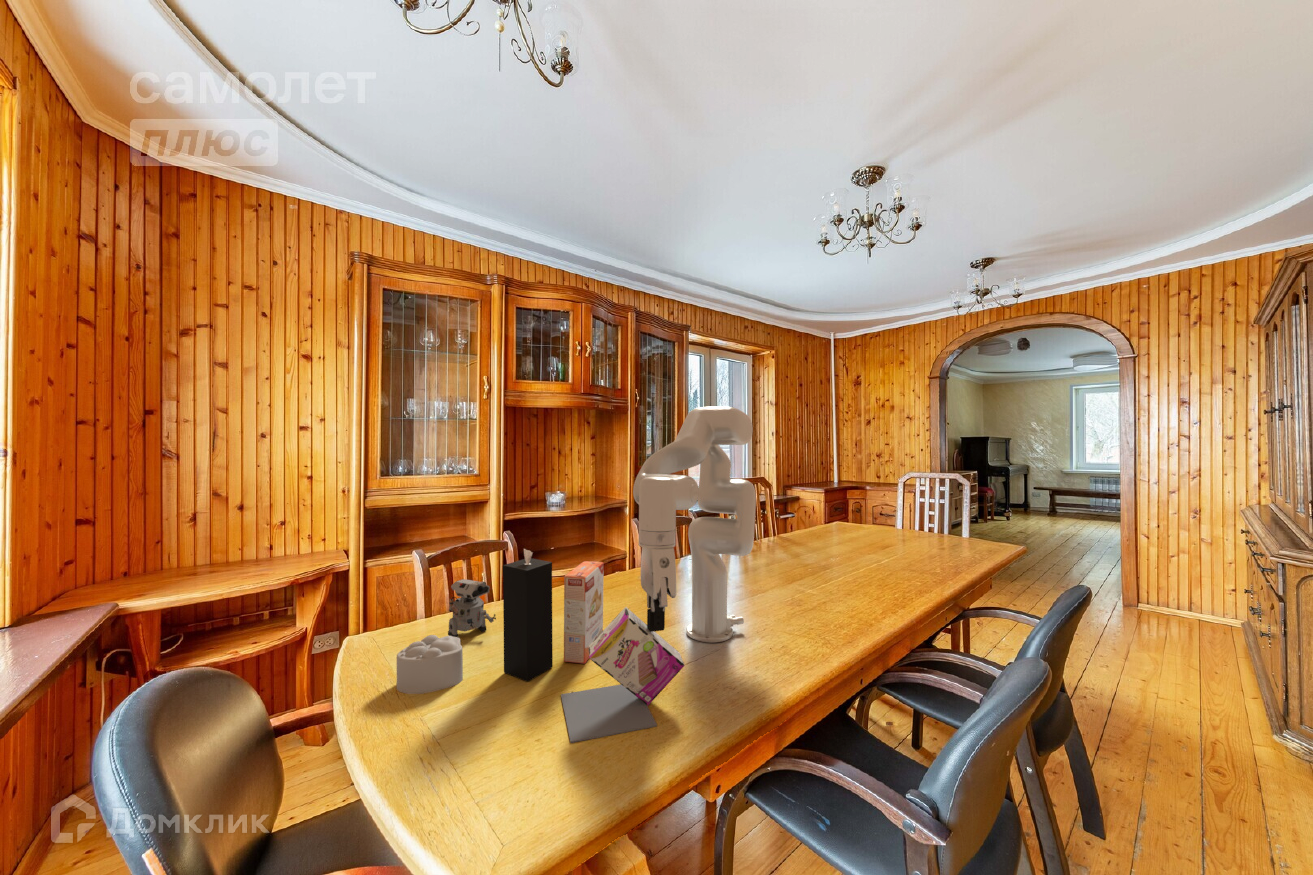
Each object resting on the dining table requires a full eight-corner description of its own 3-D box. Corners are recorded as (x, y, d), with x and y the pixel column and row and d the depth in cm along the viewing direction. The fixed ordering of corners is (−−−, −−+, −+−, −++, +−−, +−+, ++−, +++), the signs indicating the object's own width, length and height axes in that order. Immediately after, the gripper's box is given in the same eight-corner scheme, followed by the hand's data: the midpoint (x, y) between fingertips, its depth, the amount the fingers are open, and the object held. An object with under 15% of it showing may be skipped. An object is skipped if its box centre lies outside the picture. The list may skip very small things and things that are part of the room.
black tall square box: (527, 682, 105) (526, 555, 105) (503, 673, 109) (502, 550, 109) (553, 667, 112) (552, 548, 111) (529, 659, 116) (528, 543, 116)
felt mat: (635, 683, 105) (635, 681, 105) (656, 726, 89) (656, 724, 89) (560, 695, 100) (560, 694, 100) (570, 743, 85) (570, 741, 85)
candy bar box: (648, 707, 95) (588, 660, 92) (644, 692, 100) (587, 646, 97) (686, 665, 96) (628, 616, 93) (680, 652, 101) (624, 605, 98)
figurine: (462, 648, 122) (461, 589, 122) (445, 634, 130) (445, 579, 130) (496, 637, 128) (496, 582, 128) (478, 625, 137) (478, 572, 136)
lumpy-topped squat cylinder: (464, 684, 105) (463, 644, 105) (396, 700, 99) (396, 658, 98) (459, 664, 114) (458, 627, 114) (396, 677, 108) (396, 639, 108)
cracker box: (586, 665, 113) (586, 576, 113) (562, 662, 114) (562, 575, 114) (604, 639, 127) (604, 561, 126) (583, 637, 128) (582, 559, 128)
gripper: (687, 544, 91) (686, 641, 90) (663, 531, 105) (661, 615, 105) (650, 545, 89) (648, 646, 88) (629, 532, 103) (628, 618, 102)
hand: (655, 629), depth 96 cm, fingers closed
